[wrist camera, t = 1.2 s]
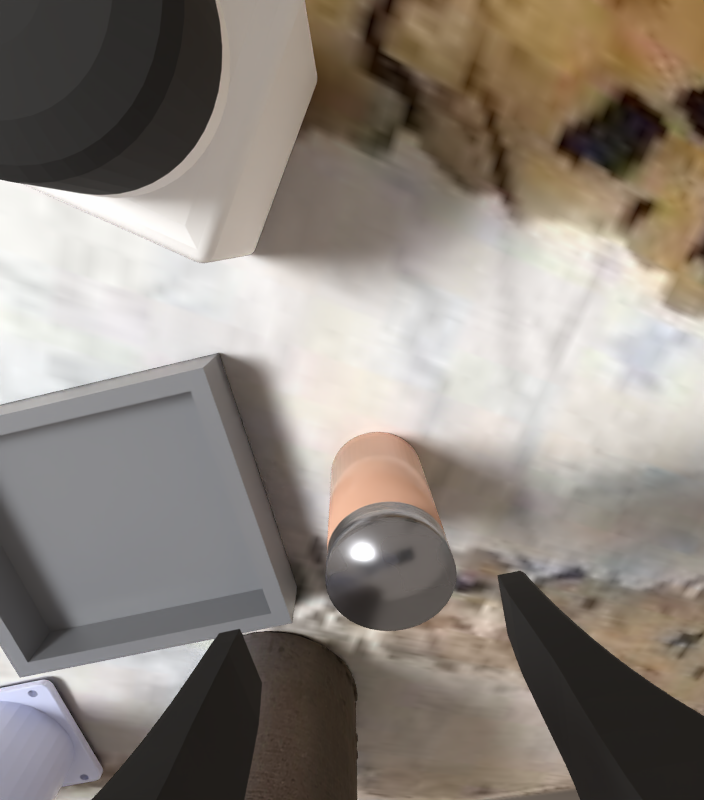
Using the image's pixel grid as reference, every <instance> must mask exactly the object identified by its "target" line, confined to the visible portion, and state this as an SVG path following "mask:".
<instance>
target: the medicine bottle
mask: <svg viewBox="0 0 704 800" xmlns="http://www.w3.org/2000/svg"><path fill="white" fill-rule="evenodd" d="M316 84H317V72H316V66H315V60H314V54H313V47H312V41H311V35H310V29H309V23H308V17H307V11H306V5H305V0H0V180H5V181H10V182H15V183H21V184H24V185H26V186H28V187H30V188H32V189H35V190H37V191H39V192H41V193H44V194H46V195H48V196H50V197H53V198H55V199H57V200H59V201H62V202H64V203H66V204H68V205H70V206H73V207H75V208H77V209H79V210H82V211H84V212H86V213H88V214H91V215H93V216H95V217H97V218H100V219H102V220H104V221H106V222H108V223H111V224H113V225H115V226H117V227H120V228H122V229H124V230H126V231H129V232H131V233H133V234H135V235H138V236H140V237H142V238H144V239H146V240H149V241H151V242H153V243H155V244H158V245H160V246H162V247H164V248H167V249H169V250H171V251H173V252H176V253H178V254H180V255H182V256H185V257H187V258H189V259H191V260H193V261H196V262H199V263H208V262H214V261H220V260H225V259H231V258H236V257H242V256H247V255H250V254H252V253H253V252H254V251H255V249H256V246H257V243H258V240H259V238H260V235H261V232H262V230H263V227H264V224H265V222H266V219H267V216H268V213H269V211H270V208H271V205H272V203H273V200H274V197H275V195H276V192H277V189H278V186H279V184H280V181H281V178H282V176H283V173H284V170H285V168H286V165H287V162H288V159H289V157H290V154H291V151H292V149H293V146H294V143H295V141H296V138H297V135H298V132H299V130H300V127H301V124H302V122H303V119H304V116H305V113H306V111H307V108H308V105H309V103H310V100H311V97H312V95H313V92H314V89H315V86H316Z"/></svg>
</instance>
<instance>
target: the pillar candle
mask: <svg viewBox="0 0 704 800" xmlns="http://www.w3.org/2000/svg"><path fill="white" fill-rule="evenodd" d="M243 637H244V640H245V642H246V645H247V647H248V650H249V652H250V654H251V657H252V659H253V662H254V664H255V667H256V669H257V672H258V674H259V677H260V679H261V681H262V691H261V706H260V717H259V726H258V732H257V737H256V742H255V748H254V753H253V758H252V764H251V769H250V774H249V779H248V784H247V789H246V794H245V799H244V800H357V758H358V752H357V748H356V747H357V741H358V737H357V733H356V709H355V708H356V703H355V701H357V691H356V685H355V682H354V679H353V677H352V674H351V672H350V670H349V669H348V667H347V665H346V664H345V662H344V661H342V660H341V659H340V658H339V657H338V656H336V655H335V654H334V653H333V652H332V651H330V650H328V649H327V648H325V647H324V646H323V645H321V644H319V643H317V642H314V641H311V640H309V639H307V638H304V637H301V636H297V635H293V634H288V633H281V632H280V633H278V632H277V633H276V632H275V633H273V632H257V633H250V634H247V635H243Z"/></svg>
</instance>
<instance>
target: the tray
mask: <svg viewBox="0 0 704 800" xmlns="http://www.w3.org/2000/svg"><path fill="white" fill-rule="evenodd" d="M296 591H297V585H296V582H295V579H294V576H293V573H292V570H291V567H290V564H289V561H288V558H287V555H286V552H285V549H284V546H283V543H282V540H281V537H280V534H279V531H278V528H277V525H276V522H275V519H274V516H273V513H272V510H271V507H270V504H269V501H268V498H267V495H266V492H265V489H264V486H263V483H262V480H261V477H260V474H259V471H258V468H257V465H256V462H255V459H254V456H253V453H252V450H251V447H250V444H249V441H248V438H247V435H246V432H245V429H244V426H243V423H242V421H241V418H240V415H239V412H238V409H237V406H236V403H235V400H234V397H233V394H232V391H231V388H230V385H229V382H228V379H227V376H226V373H225V370H224V367H223V364H222V361H221V358H220V355H219V353H217V354H212V355H208V356H204V357H200V358H196V359H191V360H187V361H183V362H179V363H174V364H170V365H166V366H162V367H158V368H153V369H149V370H145V371H141V372H137V373H132V374H128V375H124V376H120V377H115V378H111V379H107V380H103V381H99V382H94V383H90V384H86V385H82V386H78V387H73V388H69V389H65V390H61V391H56V392H52V393H48V394H44V395H40V396H35V397H31V398H27V399H23V400H19V401H14V402H10V403H6V404H2V405H0V646H1V648H2V649H3V651H4V653H5V654H6V656H7V657H8V659H9V661H10V662H11V664H12V666H13V667H14V669H15V670H16V672H17V674H18V675H19V677H25V676H30V675H35V674H40V673H45V672H50V671H55V670H60V669H65V668H70V667H75V666H80V665H85V664H90V663H95V662H100V661H105V660H110V659H115V658H120V657H125V656H130V655H135V654H140V653H145V652H150V651H155V650H160V649H165V648H170V647H175V646H180V645H185V644H190V643H195V642H200V641H205V640H210V639H215V638H216V637H217V635H218V634H219V633H222V632H227V631H232V630H236V629H240V630H241V632H242V633H245V632H250V631H255V630H260V629H265V628H270V627H275V626H280V625H285V624H290V623H292V620H293V613H294V606H295V598H296Z"/></svg>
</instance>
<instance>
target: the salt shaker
mask: <svg viewBox="0 0 704 800" xmlns="http://www.w3.org/2000/svg"><path fill="white" fill-rule="evenodd" d="M455 583H456V566H455V562H454V559H453V556H452V553H451V550H450V547H449V544H448V541H447V538H446V535H445V532H444V529H443V526H442V524H441V521H440V518H439V515H438V512H437V509H436V506H435V503H434V500H433V497H432V494H431V491H430V488H429V486H428V483H427V480H426V477H425V474H424V471H423V468H422V465H421V462H420V459H419V457H418V455H417V453H416V452H415V450H414V449H413V448H412V446H411V445H410V444H409V443H407V442H406V441H405V440H403V439H402V438H400V437H398V436H395V435H392V434H389V433H383V432H372V433H366V434H363V435H360V436H357V437H355V438H353V439H352V440H350V441H349V442H347V443H346V444H345V445H344V446H343V447H342V448H341V449H340V450H339V452H338V453H337V455H336V456H335V459H334V461H333V464H332V470H331V486H330V504H329V523H328V542H327V561H326V588H327V592H328V595H329V597H330V599H331V601H332V603H333V605H334V606H335V607H336V608H337V610H338V611H339V612H340V613H341V614H342V615H343V616H345V617H346V618H347V619H349V620H350V621H352V622H354V623H356V624H358V625H360V626H363V627H366V628H370V629H374V630H381V631H396V630H403V629H407V628H411V627H414V626H417V625H420V624H422V623H424V622H426V621H427V620H429V619H431V618H432V617H434V616H435V615H436V614H437V613H438V612H440V610H441V609H442V608H443V607H444V606H445V605H446V604H447V602H448V601H449V599H450V597H451V595H452V593H453V591H454V588H455Z"/></svg>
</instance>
